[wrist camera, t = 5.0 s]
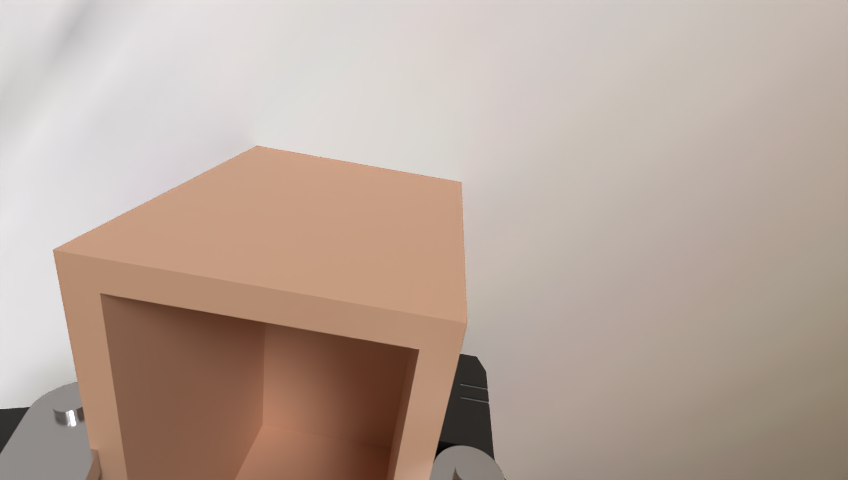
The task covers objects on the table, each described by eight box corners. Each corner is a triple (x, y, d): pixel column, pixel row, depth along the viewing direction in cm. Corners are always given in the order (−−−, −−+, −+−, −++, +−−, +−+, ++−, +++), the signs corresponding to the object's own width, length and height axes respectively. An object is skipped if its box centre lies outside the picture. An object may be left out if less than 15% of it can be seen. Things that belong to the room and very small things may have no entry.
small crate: (257, 145, 11) (53, 250, 5) (461, 182, 11) (467, 322, 5) (252, 422, 14) (129, 653, 9) (406, 448, 14) (376, 695, 9)
